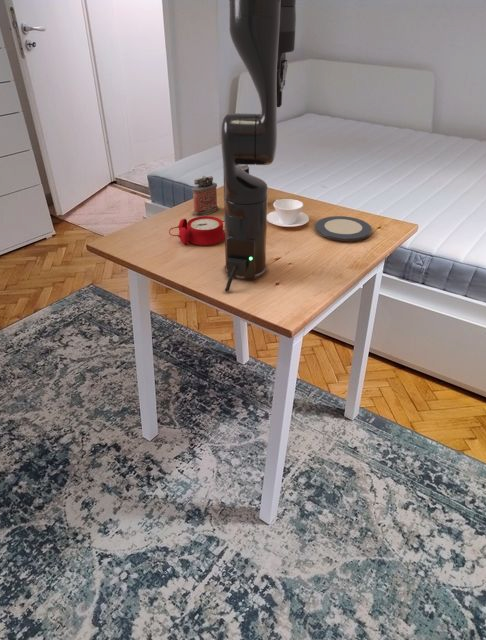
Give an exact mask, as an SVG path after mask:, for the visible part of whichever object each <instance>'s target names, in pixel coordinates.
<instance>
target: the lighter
mask: <svg viewBox="0 0 486 640" xmlns="http://www.w3.org/2000/svg"><path fill="white" fill-rule="evenodd" d="M213 181H214V176H212V175H209V176H206V175H203V176H202V177H199V178H195V179H194V185H195V186H193V187H192V188H191V191H192V195H193V215H194V216H196V217H201V216H205V215H208V214H212V213H214V212H216V211H218V210H219V209H218V208H219V206H218V194H217V187H218V183H217V182H213Z"/></svg>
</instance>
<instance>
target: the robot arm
mask: <svg viewBox="0 0 486 640" xmlns="http://www.w3.org/2000/svg"><path fill="white" fill-rule="evenodd" d="M228 2H229V3H228V7H229V8H228V10H229V11H228V14H229V15H228V24H229V27H228V31H229V37H230V39H231V42H232V44H233V47H234V49H235V51H236V52H237V54H238V56H239V58H240V61H242V63H243V65H244V67H245V69H246V70H247V73H248V75H249V76H250V79H251V81H252V84H253V85H254V88H255V91H256V93H257V97H258V100H259V104H260V113H234V112H233V113H232V112H231V113H227V114H225V115H224V116H223V118H222V121H221V124H220V125H221V126H220V146H221V157H222V158H221V159H222V169H223V170H222V171H223V173H222V174H223V175H222V176H223V212H224V213H223V215H224V216H223V217H224V218H223V219H224V220H223V221H225V222H224V230H225V231H224V232H225V239H224V255H225V256H224V257H225V265H224V270H225V273H226V274H227V278H228V279H227V283H226V285H225V288H224V291H225V292H226V293H228V292H229V291H230V289H231V285H232V282H233V279H238V280H239V279H240V280H246V281H255V279H256V278H259V277H262V276H263V275H264V274H265V273H266V271H267V268H266V267H267V265H266V262H267V261H266V257H267V226H268V221H267V215H268V194H269V190H268V188H269V187H268V184H267V183H266V181H265V180H263V179H261V178H259V177H257V176H255V175H252V174H251V173H249V174H248V173H247V172H245V171H244V170H243V169H241V167H240V166H239V164H241V165H248V166H249V165H250V166H255V165H256V166H269V165H271V164H273V162H274V161H275V157H276V154H277V143H278V109H277V108H281V107H282V106H283V105H282V104H283V91H284V89H285V88H284V87H285V85H286V78H287V71H288V67H289V64H288V59H286V58H287V56H286V55H287V53H288V54H289V53H293V52H294V51H295V46H296V45H295V44H296V26H297V23H296V22H297V12H296V5H297V0H229V1H228Z"/></svg>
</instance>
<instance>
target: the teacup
mask: <svg viewBox="0 0 486 640" xmlns="http://www.w3.org/2000/svg"><path fill="white" fill-rule="evenodd" d="M273 208H274V211H271V212H269V213H267V223H270V224H272V225H275V226H278V227H284V228H285V227H286V228H293V227H301V226H303V225H306V224H307V223H309V221H310V216H309V215H308V214H306V212H302V209H303V208H304V203H303V202H302V201H301V200H298V199H295V198H280V199H276V200H275V201H274V202H273Z"/></svg>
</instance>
